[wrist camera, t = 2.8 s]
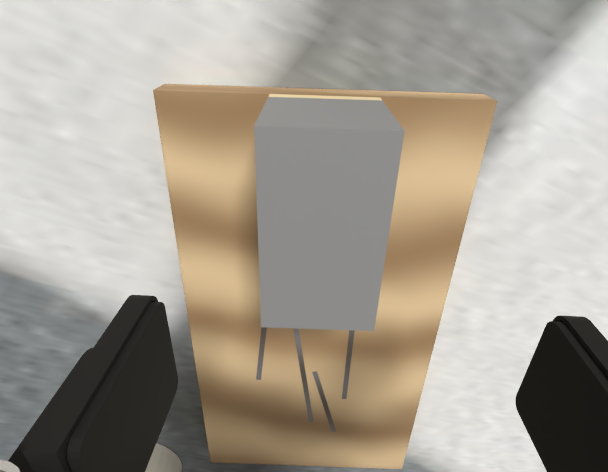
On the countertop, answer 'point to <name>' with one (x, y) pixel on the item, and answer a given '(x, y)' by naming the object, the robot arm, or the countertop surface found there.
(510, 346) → the countertop surface
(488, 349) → the countertop surface
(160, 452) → the coffee cup
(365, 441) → the board
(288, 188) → the block
